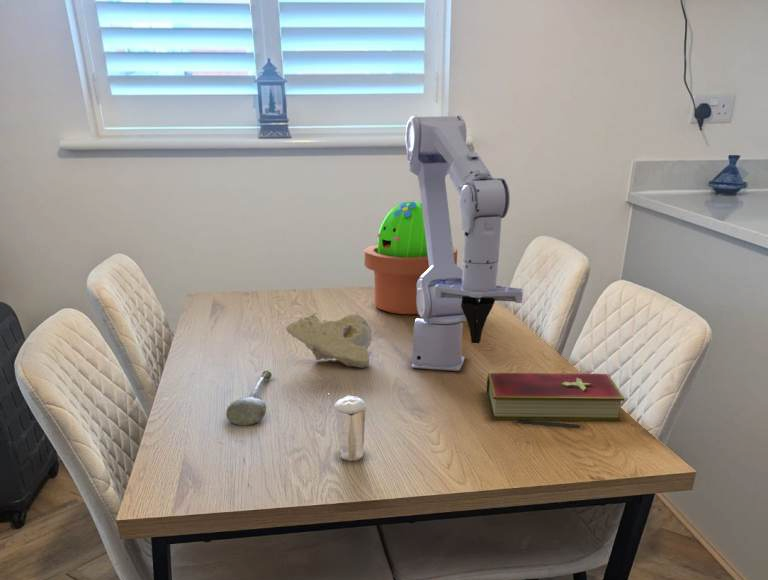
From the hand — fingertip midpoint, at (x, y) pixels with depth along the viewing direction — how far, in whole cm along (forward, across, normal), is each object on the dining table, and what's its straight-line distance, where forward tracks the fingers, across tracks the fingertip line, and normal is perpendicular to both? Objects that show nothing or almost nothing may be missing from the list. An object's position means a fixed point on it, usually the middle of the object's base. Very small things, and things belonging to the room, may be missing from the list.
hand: (475, 341), depth 124 cm
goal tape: (+9, +14, -3) cm, 17 cm away
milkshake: (+10, -14, -30) cm, 35 cm away
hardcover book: (+10, +14, -4) cm, 17 cm away
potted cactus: (+10, -23, +56) cm, 61 cm away
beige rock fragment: (+10, -30, +10) cm, 33 cm away
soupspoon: (+10, -37, -12) cm, 40 cm away
